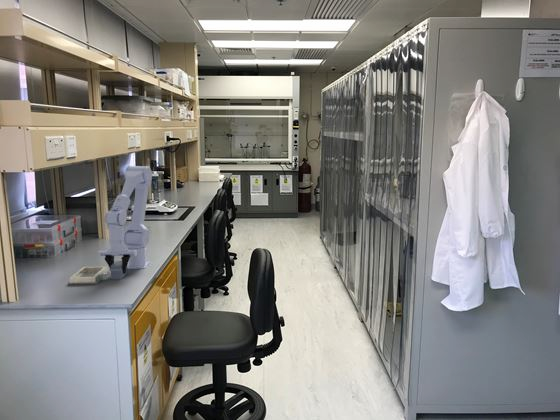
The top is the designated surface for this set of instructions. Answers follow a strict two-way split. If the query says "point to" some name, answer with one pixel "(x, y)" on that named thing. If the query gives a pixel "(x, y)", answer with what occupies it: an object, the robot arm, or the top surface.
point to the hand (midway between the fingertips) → (118, 272)
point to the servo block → (117, 270)
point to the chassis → (88, 275)
